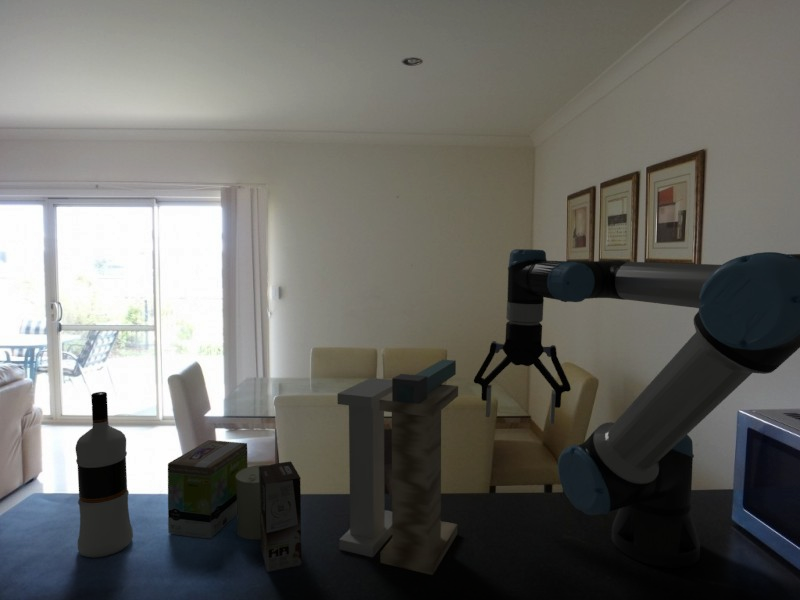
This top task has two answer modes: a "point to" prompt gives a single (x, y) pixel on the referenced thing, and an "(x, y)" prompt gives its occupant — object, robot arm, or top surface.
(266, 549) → the coffee box
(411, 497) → the pedestal
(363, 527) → the stand
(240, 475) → the can
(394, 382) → the teal bar
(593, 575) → the top surface
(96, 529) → the vodka
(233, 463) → the tea box
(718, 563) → the top surface
